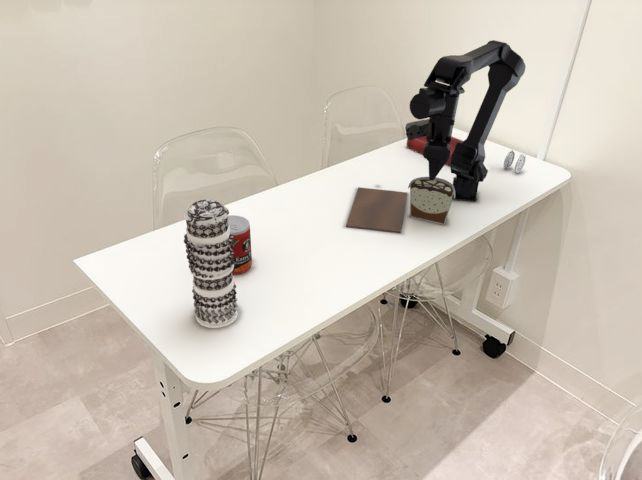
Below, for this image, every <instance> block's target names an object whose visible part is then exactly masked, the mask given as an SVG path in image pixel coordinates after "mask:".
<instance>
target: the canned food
mask: <svg viewBox="0 0 642 480" xmlns="http://www.w3.org/2000/svg"><path fill="white" fill-rule="evenodd" d="M228 224H229V226H230V233H231V234H233V238H234V240H233V241H232V242H234V248H233V249H232V250H233V251H234V257H233V258H234V259H235V260H234V268H233V271H232V275H239V274H243V273H246V272H248V271H249V270H250V269H251V267H252V263H253V259H252V258H253V256H252V238H251V236H252V235H251V225H250V221H249V219H247V218H246V217H244V216H241V215H235V214H233V215H232V214H231V215H230V214H229V215H228ZM229 239H230V237H229ZM229 246H230V244H229Z"/></svg>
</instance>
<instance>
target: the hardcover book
mask: <svg viewBox="0 0 642 480" xmlns="http://www.w3.org/2000/svg"><path fill="white" fill-rule="evenodd" d="M463 141H464V140H462V139H460V138H457V137H455V136H451V142H450V144H449V146H450V147H451V152H450V157H449V160H448V161H447V162H446V163H445V165H446V166H448V167H450V158H451V155H452V153H453V152H454V149H455V146H456V144H457V143H458V142H459V143H462V142H463ZM426 143H427V140H426V136H425V137H420V138H415V139H413V140H408V139H406V148H408V149H409V150H412V151H413V152H415V153H418V154H421V155H423V152H424V147H425V144H426Z"/></svg>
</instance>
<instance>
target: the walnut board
mask: <svg viewBox="0 0 642 480" xmlns="http://www.w3.org/2000/svg"><path fill="white" fill-rule="evenodd" d="M407 197H408V192H406V191H398V190H397V191H395V190H386V189H377V188H368V187H359V186H358V187H357V190H356V193H355V196H354V200H353V203H352V205H351V209H350V211H349V215H348V218H347V221H346V224H345V227H346V228H352V229H353V228H354V229H361V230H369V231H377V232H386V233H395V234H401V233H402V228H403V221H404V215H405V209H406V203H407Z"/></svg>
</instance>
